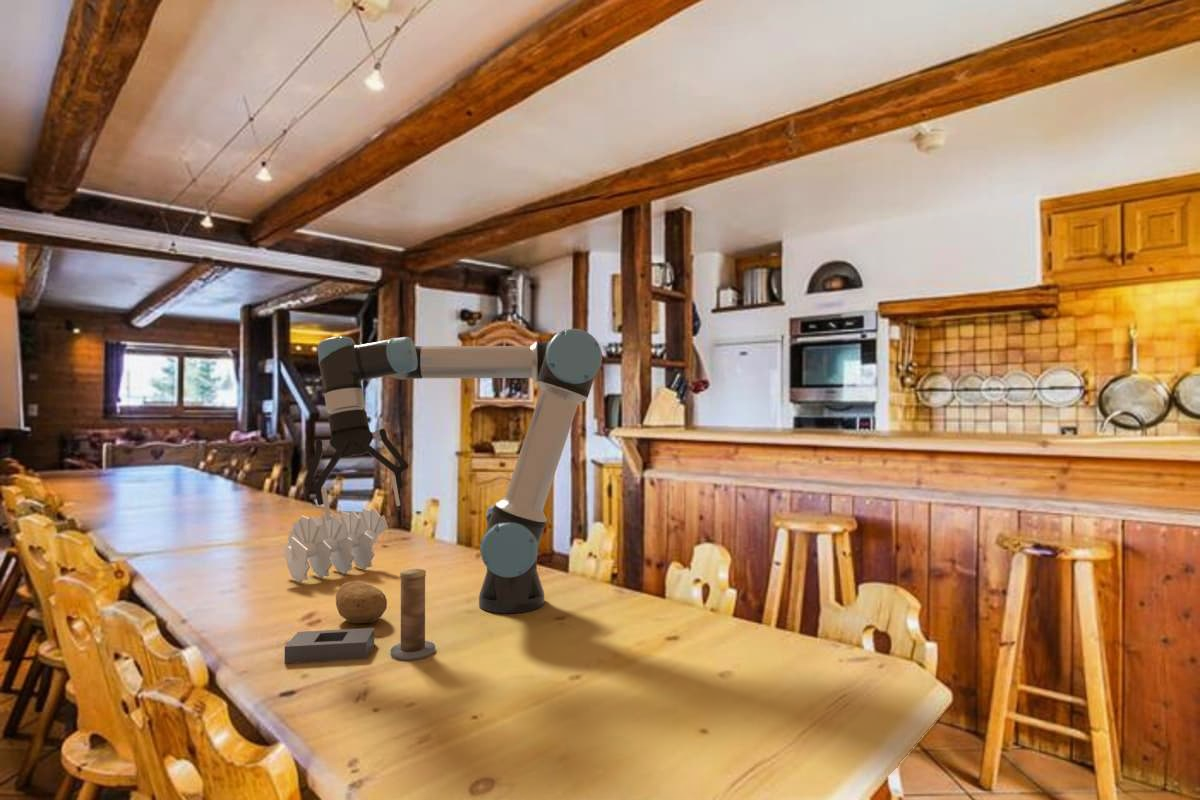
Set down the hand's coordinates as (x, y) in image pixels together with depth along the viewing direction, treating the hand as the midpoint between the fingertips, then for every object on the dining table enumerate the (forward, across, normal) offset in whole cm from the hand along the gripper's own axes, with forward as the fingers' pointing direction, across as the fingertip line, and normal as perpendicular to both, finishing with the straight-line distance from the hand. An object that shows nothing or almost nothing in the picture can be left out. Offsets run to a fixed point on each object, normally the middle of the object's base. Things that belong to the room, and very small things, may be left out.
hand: (364, 513), depth 135 cm
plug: (+26, -5, +12) cm, 29 cm away
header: (+24, +10, +8) cm, 27 cm away
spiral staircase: (+16, +13, -54) cm, 58 cm away
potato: (+23, +4, -10) cm, 25 cm away
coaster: (+27, -5, +12) cm, 30 cm away
